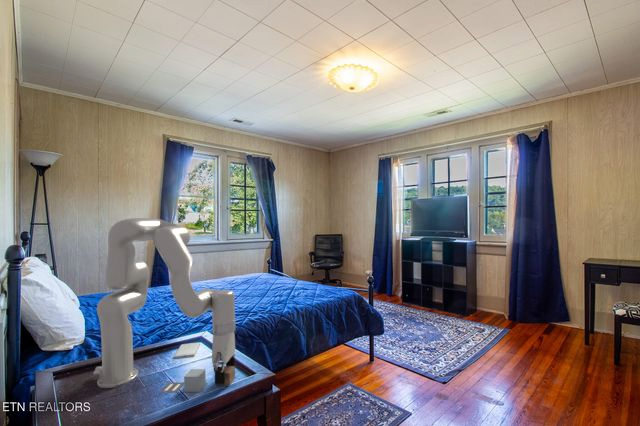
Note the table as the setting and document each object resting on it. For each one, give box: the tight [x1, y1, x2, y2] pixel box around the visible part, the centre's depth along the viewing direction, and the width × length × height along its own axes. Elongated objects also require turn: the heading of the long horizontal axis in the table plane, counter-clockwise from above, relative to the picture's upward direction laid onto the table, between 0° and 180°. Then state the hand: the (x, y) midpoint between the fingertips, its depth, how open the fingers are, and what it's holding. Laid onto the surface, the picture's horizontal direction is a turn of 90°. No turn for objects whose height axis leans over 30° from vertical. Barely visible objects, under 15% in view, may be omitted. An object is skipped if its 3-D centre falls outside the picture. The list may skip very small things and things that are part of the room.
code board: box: [159, 381, 208, 394], centre depth 106 cm, size 16×10×1 cm, turn 86°
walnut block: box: [215, 365, 236, 387], centre depth 109 cm, size 5×5×5 cm
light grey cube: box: [183, 368, 207, 392], centre depth 106 cm, size 5×5×5 cm
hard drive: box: [173, 342, 201, 360], centre depth 137 cm, size 2×8×12 cm
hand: (225, 375), depth 109 cm, fingers open, 9 cm apart
